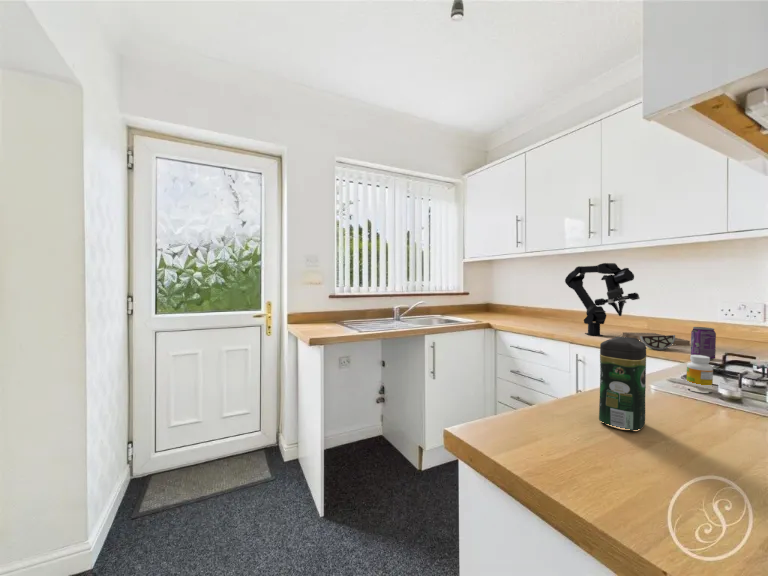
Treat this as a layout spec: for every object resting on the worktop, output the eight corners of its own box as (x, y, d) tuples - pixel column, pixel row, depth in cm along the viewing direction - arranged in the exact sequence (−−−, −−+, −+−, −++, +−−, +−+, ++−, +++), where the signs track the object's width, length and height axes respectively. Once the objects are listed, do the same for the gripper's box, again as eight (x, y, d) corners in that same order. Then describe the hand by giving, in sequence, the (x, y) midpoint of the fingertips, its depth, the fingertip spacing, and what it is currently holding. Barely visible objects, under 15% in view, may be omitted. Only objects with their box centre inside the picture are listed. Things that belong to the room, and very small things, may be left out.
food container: (640, 349, 160) (642, 350, 152) (638, 336, 161) (640, 336, 153) (674, 349, 153) (678, 349, 145) (672, 335, 155) (675, 334, 146)
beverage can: (697, 355, 139) (698, 326, 139) (719, 359, 133) (720, 328, 132) (686, 357, 137) (687, 327, 136) (708, 361, 130) (709, 329, 130)
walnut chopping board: (622, 336, 187) (622, 332, 186) (653, 336, 185) (653, 332, 185) (654, 344, 163) (654, 340, 163) (689, 345, 162) (689, 340, 161)
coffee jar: (605, 412, 80) (607, 333, 79) (648, 422, 74) (650, 337, 74) (593, 424, 73) (595, 338, 73) (639, 437, 67) (641, 343, 67)
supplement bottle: (681, 387, 99) (682, 353, 98) (702, 388, 98) (703, 354, 97) (694, 393, 93) (695, 358, 93) (717, 394, 92) (718, 358, 92)
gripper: (589, 288, 178) (595, 317, 174) (632, 279, 166) (640, 311, 162) (594, 290, 186) (600, 319, 182) (635, 283, 174) (643, 313, 170)
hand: (620, 316), depth 174 cm, fingers closed
